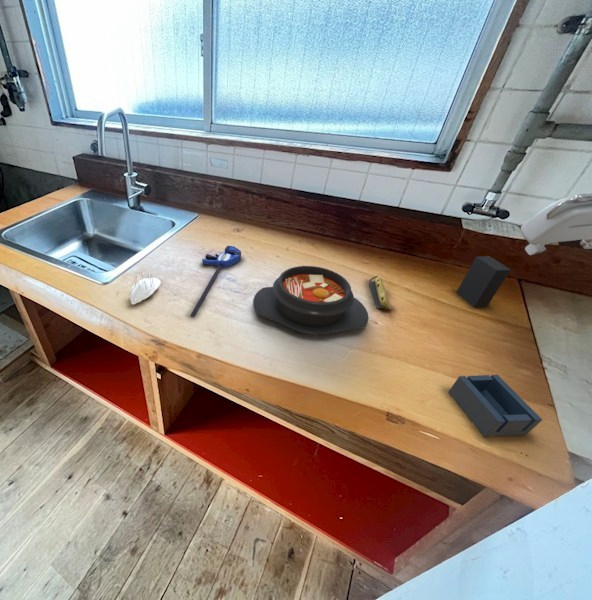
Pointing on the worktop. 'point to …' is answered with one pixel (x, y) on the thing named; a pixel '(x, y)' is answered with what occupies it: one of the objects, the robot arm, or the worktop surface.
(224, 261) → the bar clamp
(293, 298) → the casserole
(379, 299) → the yellow-green lumpy piece
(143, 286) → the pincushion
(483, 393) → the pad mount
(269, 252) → the worktop surface
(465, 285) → the back pad
